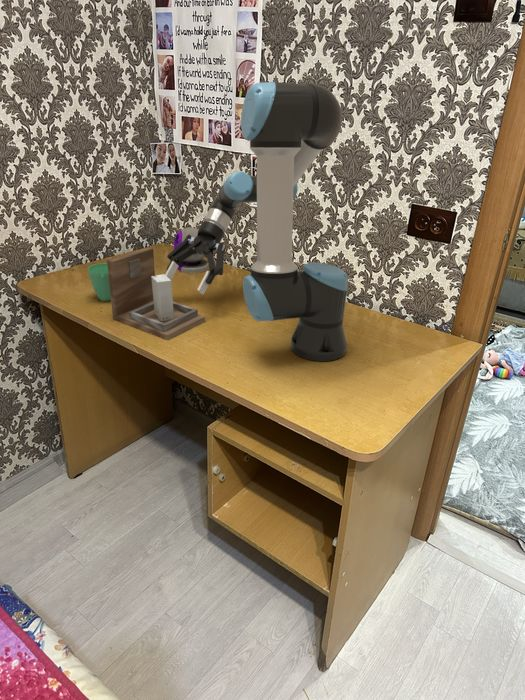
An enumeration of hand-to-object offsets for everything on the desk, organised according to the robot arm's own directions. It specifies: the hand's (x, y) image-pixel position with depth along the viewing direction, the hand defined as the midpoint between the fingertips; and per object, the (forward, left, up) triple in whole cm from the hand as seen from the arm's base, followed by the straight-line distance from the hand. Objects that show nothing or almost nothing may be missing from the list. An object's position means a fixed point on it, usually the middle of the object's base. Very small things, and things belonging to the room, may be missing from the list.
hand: (182, 287), depth 158 cm
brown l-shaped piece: (+2, +9, -8) cm, 12 cm away
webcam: (+26, -33, -9) cm, 43 cm away
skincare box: (0, +8, -7) cm, 11 cm away
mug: (+26, +5, -9) cm, 28 cm away
